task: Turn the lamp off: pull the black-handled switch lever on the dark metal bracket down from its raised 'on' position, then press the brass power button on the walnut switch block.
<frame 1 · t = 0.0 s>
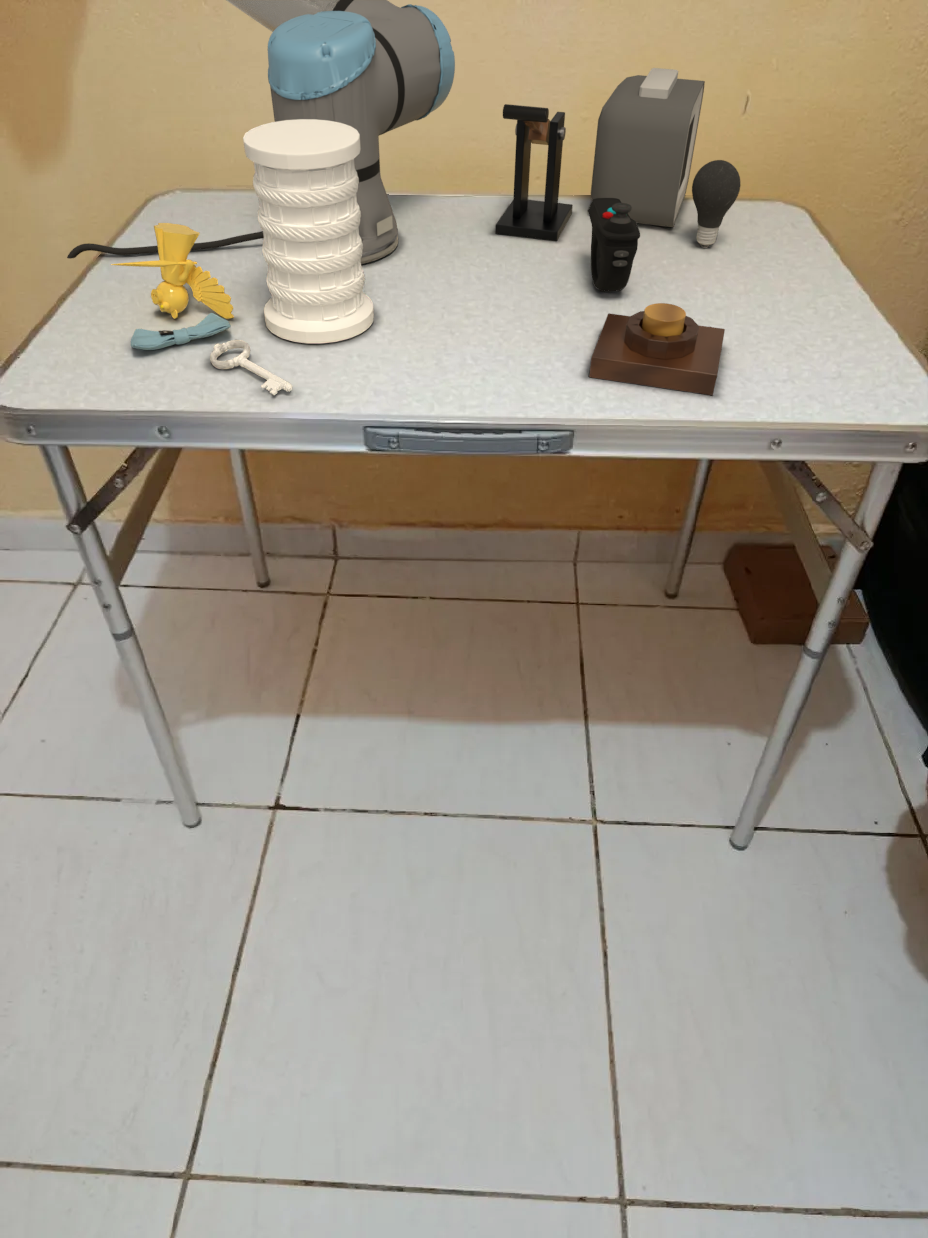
power button: (663, 320, 89), point 4 cm above the table, slide at 0.1 cm
lever: (533, 123, 108), point 13 cm above the table, hinge at 25.0°
switch bracket: (534, 223, 120), on the table
figurine: (153, 226, 93), point 9 cm above the table
decorative container: (320, 320, 99), on the table
bow tie: (176, 326, 96), on the table
switch block: (656, 362, 93), on the table
controller: (605, 286, 106), on the table
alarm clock: (636, 208, 124), on the table
key: (234, 378, 88), on the table
light bulb: (704, 247, 115), on the table
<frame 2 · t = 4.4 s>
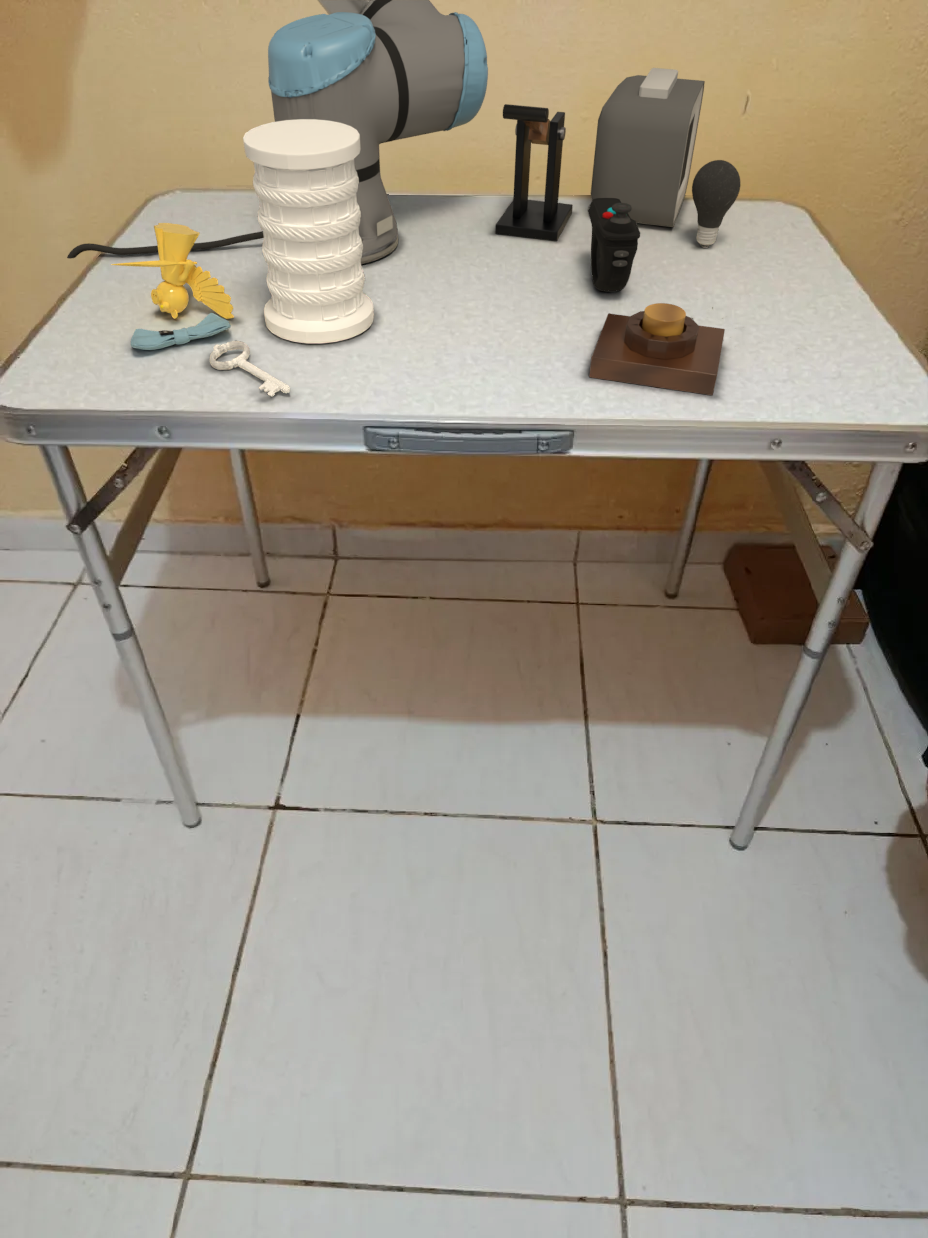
nothing on the table moved.
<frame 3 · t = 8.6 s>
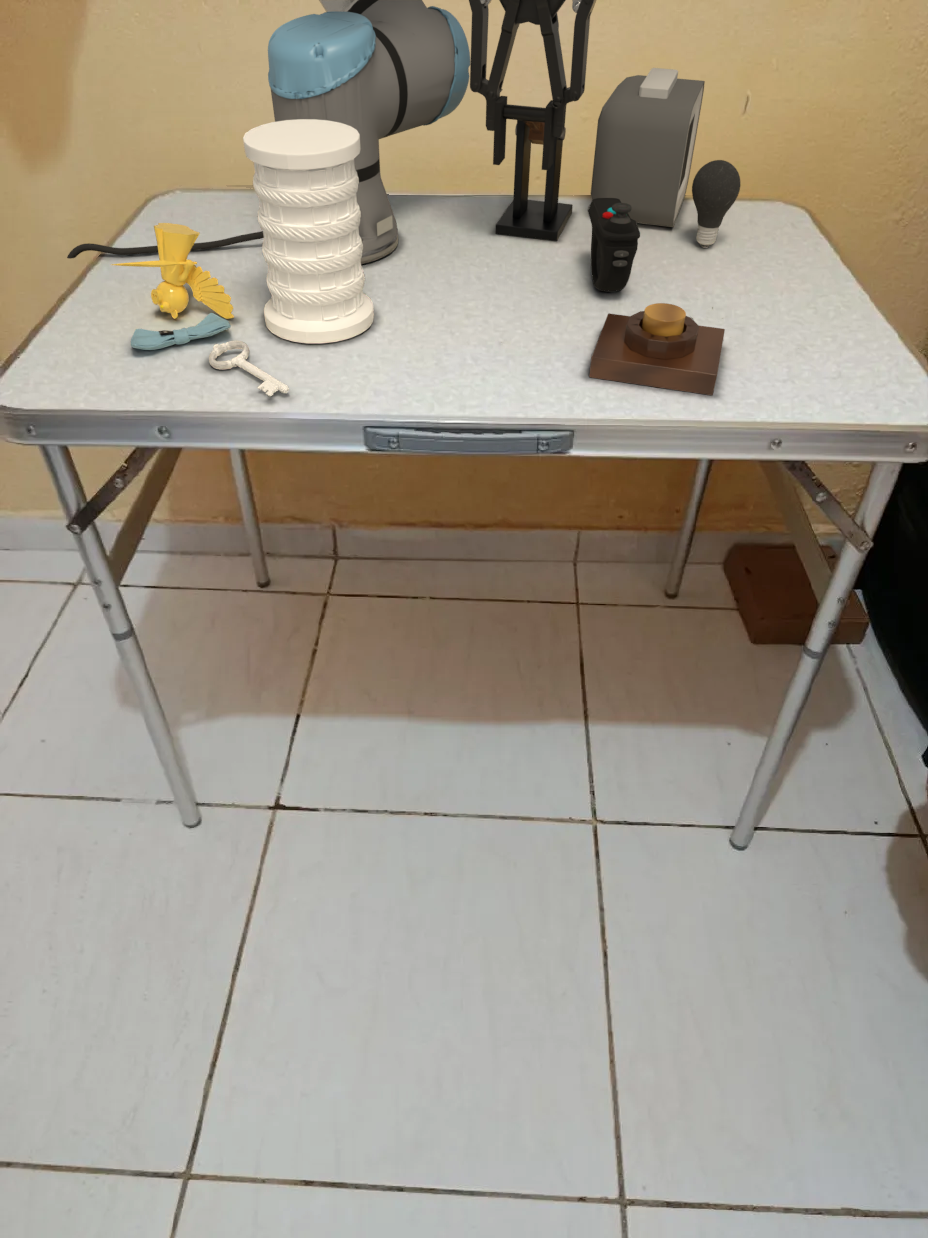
hand: (522, 163, 106), 10 cm above the table, tool pointing down, fingers closed on lever, 5 cm apart
lever: (533, 123, 108), point 13 cm above the table, hinge at 25.0°, touching gripper
everything else where it was.
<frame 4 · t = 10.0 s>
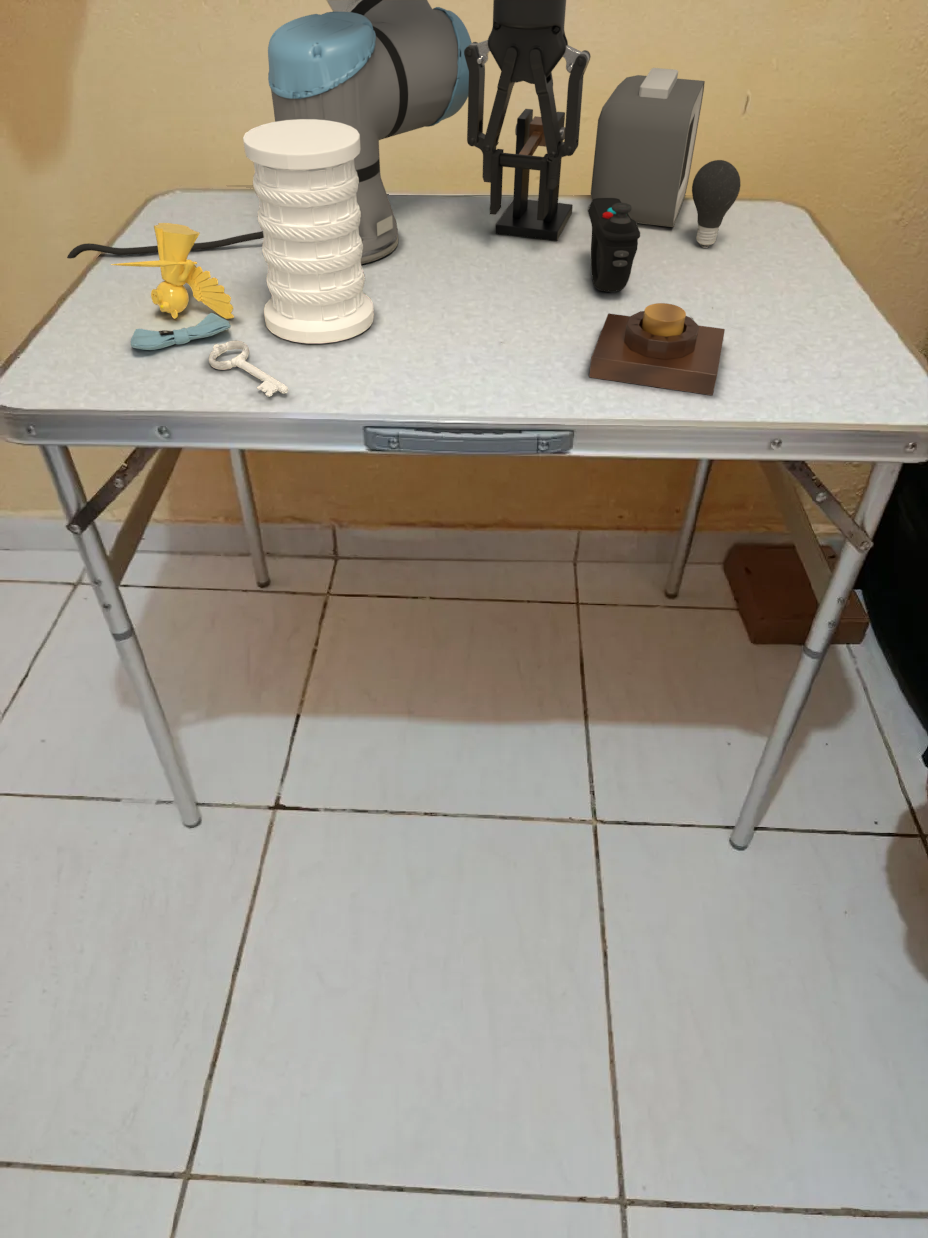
hand: (518, 212, 109), 5 cm above the table, tool pointing down, fingers closed on lever, 5 cm apart
lever: (531, 144, 109), point 11 cm above the table, hinge at -3.2°, touching gripper
everything else where it was.
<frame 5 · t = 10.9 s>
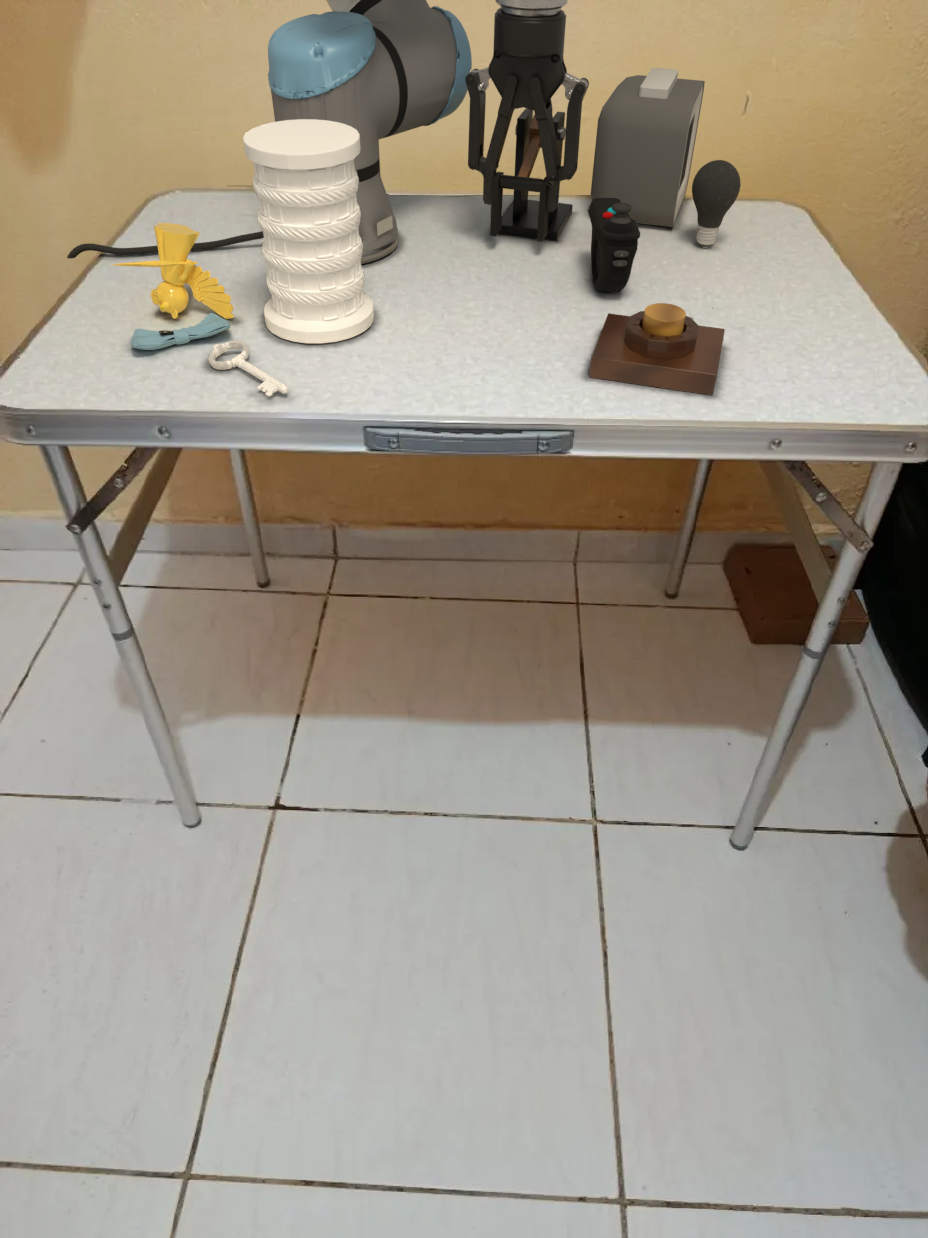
hand: (518, 234, 112), 2 cm above the table, tool pointing down, fingers open, 5 cm apart
lever: (531, 154, 110), point 10 cm above the table, hinge at -18.0°
everything else where it was.
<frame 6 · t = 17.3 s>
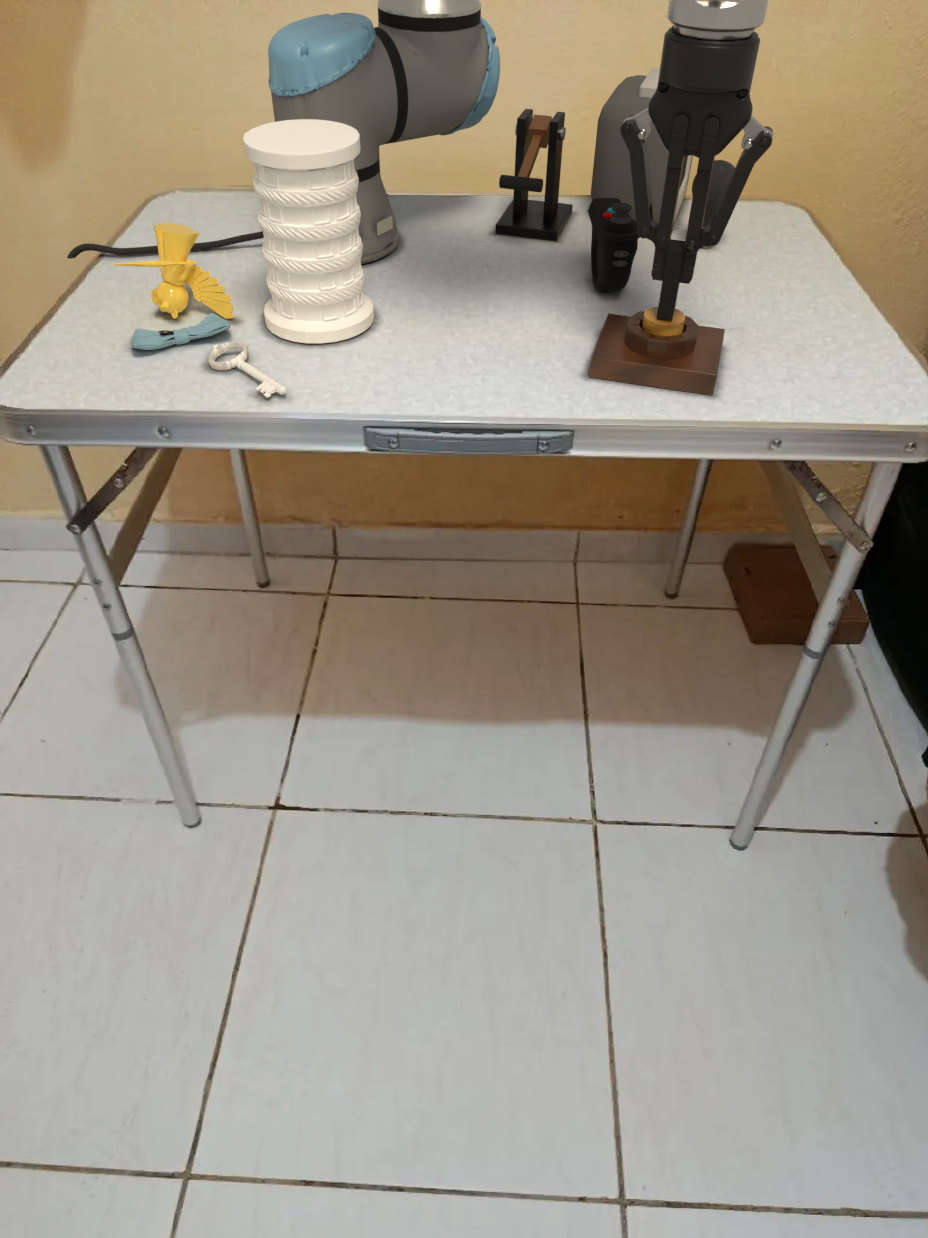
hand: (665, 312, 89), 5 cm above the table, tool pointing down, fingers closed
power button: (663, 323, 90), point 4 cm above the table, slide at -0.2 cm, touching gripper
everything else where it was.
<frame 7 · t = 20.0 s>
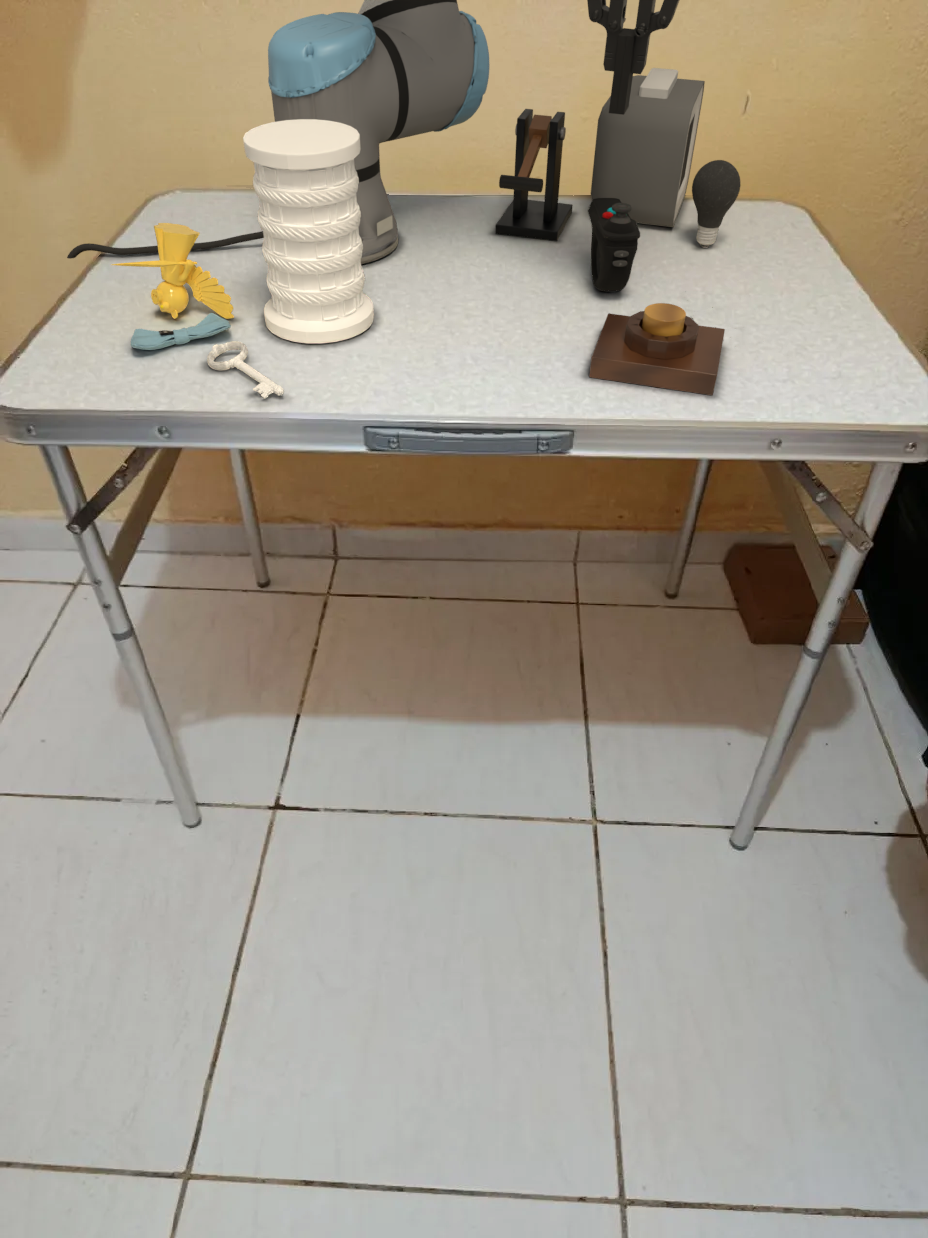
hand: (618, 109, 89), 20 cm above the table, tool pointing down, fingers closed
power button: (663, 320, 89), point 4 cm above the table, slide at 0.1 cm
everything else where it was.
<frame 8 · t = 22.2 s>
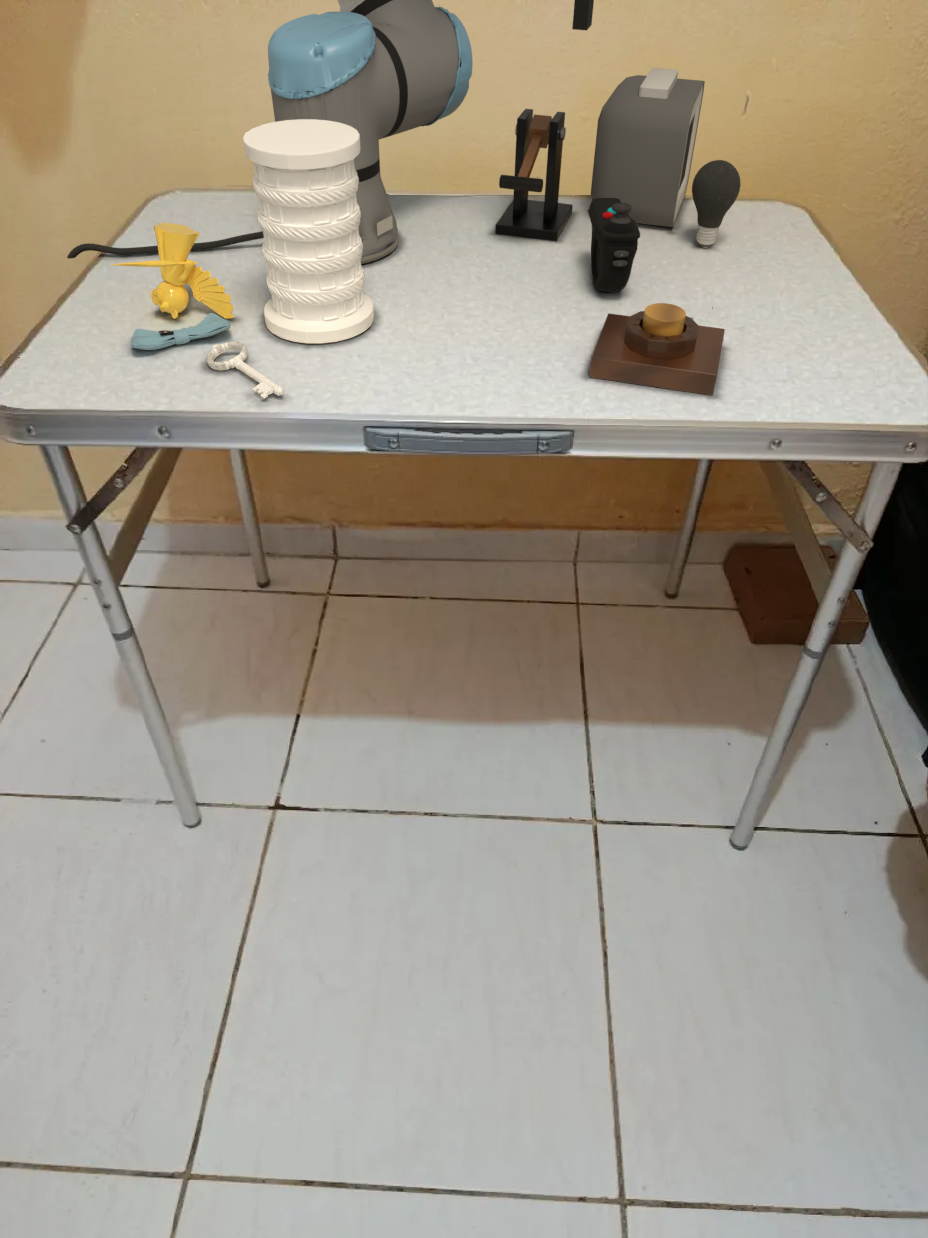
hand: (582, 26, 93), 24 cm above the table, tool pointing down, fingers closed
nothing on the table moved.
at the end: lever at -18° (first picture: +25°); power button pushed in 1.0 cm at the most during the clip, back to where it started at the end; power button slide at 0.1 cm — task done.
